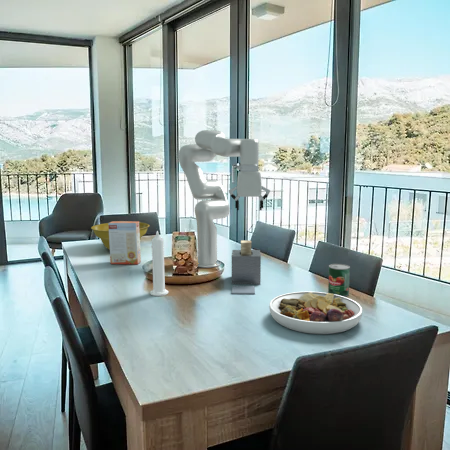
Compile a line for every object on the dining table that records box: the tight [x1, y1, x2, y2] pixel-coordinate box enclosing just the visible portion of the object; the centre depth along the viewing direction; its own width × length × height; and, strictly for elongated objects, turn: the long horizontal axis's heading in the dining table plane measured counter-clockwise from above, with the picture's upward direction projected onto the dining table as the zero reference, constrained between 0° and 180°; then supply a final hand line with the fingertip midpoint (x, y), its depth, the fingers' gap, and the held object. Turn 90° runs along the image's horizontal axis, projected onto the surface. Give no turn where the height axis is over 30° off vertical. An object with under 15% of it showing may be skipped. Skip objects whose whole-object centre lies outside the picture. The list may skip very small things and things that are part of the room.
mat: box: [231, 285, 256, 295], centre depth 181 cm, size 9×9×1 cm
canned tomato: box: [327, 263, 351, 297], centre depth 176 cm, size 8×8×11 cm
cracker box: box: [107, 220, 142, 265], centre depth 224 cm, size 14×6×21 cm, turn 84°
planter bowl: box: [90, 221, 150, 251], centre depth 257 cm, size 32×32×13 cm
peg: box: [240, 240, 252, 255], centre depth 193 cm, size 4×4×10 cm
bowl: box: [268, 291, 363, 335], centre depth 150 cm, size 30×30×8 cm
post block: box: [231, 249, 262, 286], centre depth 194 cm, size 12×12×12 cm
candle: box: [149, 230, 169, 297], centre depth 176 cm, size 7×7×25 cm
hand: (249, 209), depth 191 cm, fingers open, 9 cm apart
